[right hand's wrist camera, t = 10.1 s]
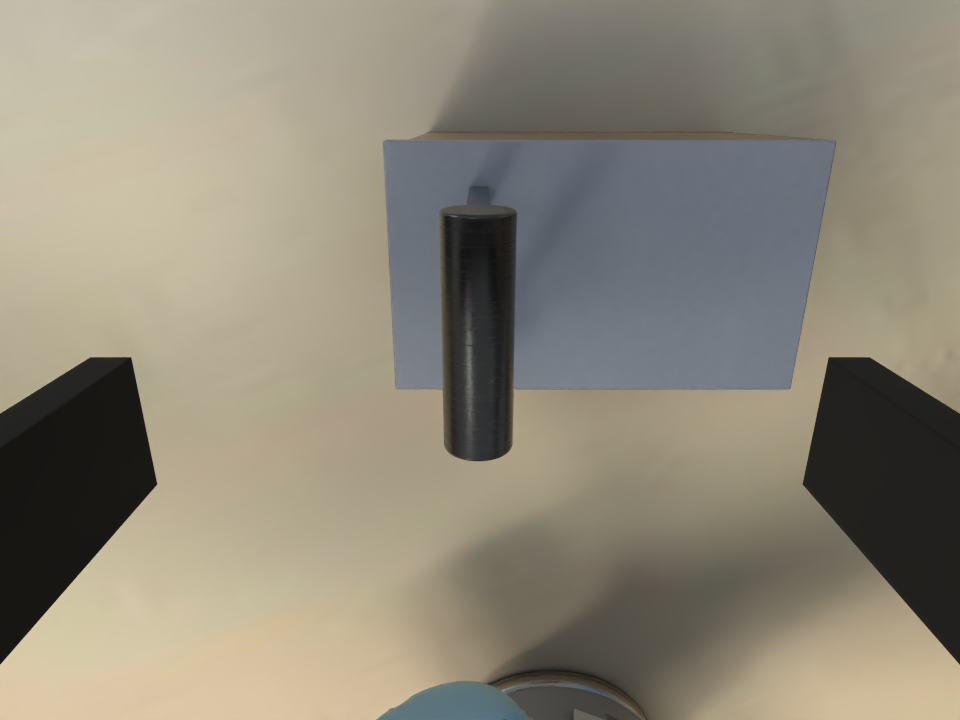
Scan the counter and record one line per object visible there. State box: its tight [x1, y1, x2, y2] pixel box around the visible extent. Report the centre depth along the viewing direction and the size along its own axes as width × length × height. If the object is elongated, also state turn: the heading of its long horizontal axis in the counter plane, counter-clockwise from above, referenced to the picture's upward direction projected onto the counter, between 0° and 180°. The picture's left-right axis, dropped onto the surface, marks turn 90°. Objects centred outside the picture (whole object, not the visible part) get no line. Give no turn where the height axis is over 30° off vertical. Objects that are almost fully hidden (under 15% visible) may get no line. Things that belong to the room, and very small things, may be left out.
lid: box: [383, 140, 836, 461], centre depth 20 cm, size 16×9×9 cm, turn 90°
